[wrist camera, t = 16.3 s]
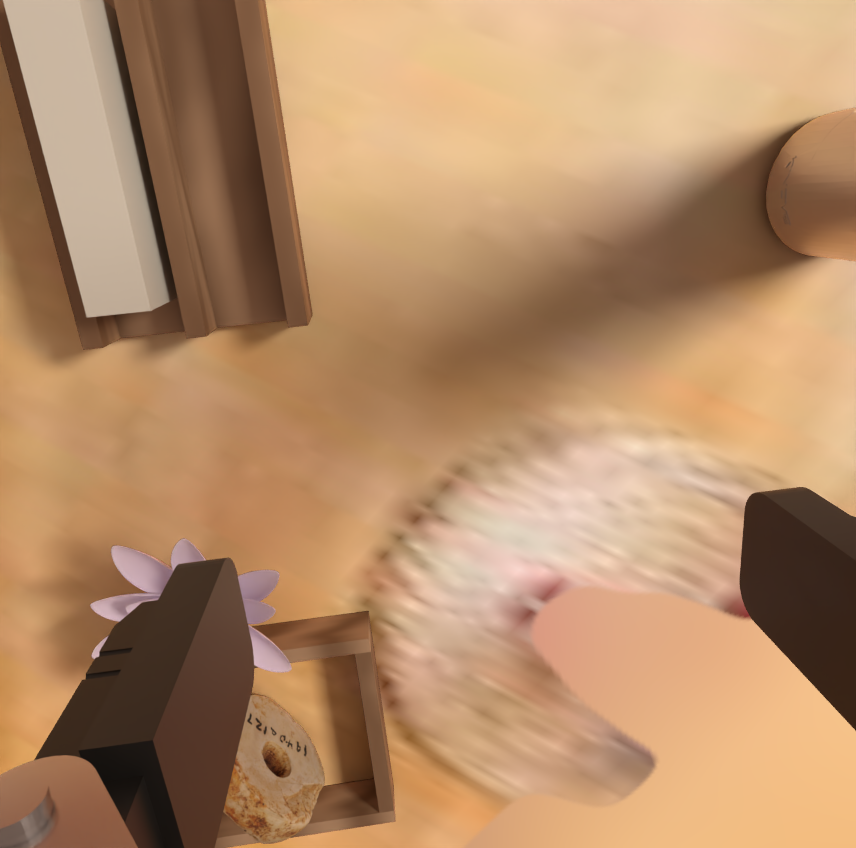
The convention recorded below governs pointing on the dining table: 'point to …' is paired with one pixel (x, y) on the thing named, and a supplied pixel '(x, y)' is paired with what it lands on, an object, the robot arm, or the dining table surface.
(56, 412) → the dining table surface
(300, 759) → the stone disc
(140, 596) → the water lily
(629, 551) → the dining table surface
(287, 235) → the rack
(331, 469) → the dining table surface
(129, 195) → the cream rectangular block
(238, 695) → the robot arm
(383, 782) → the square wooden tray
